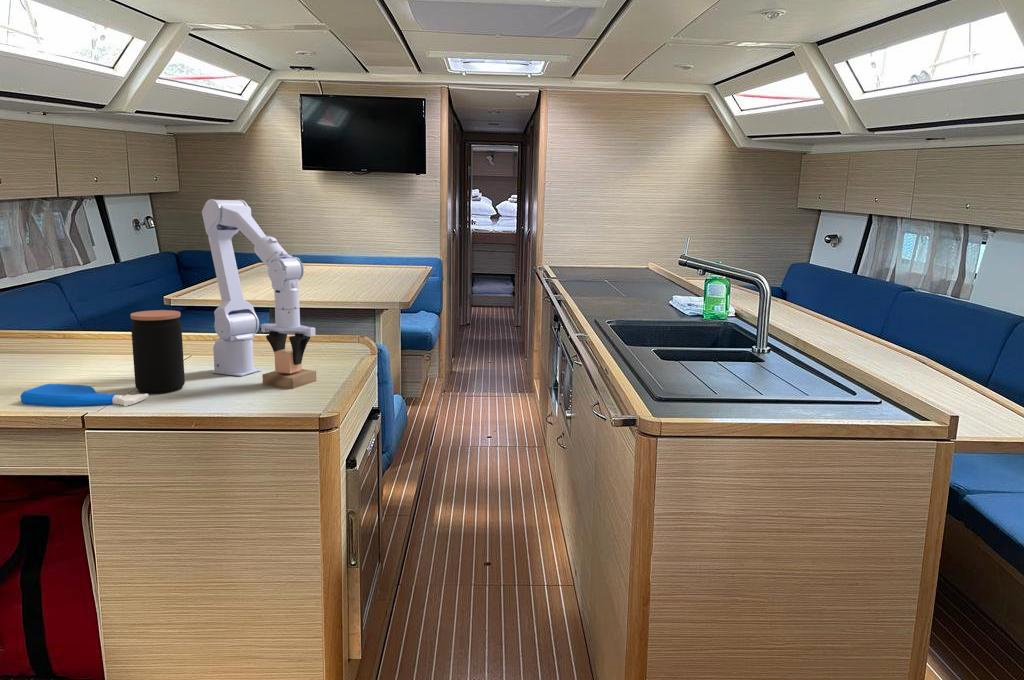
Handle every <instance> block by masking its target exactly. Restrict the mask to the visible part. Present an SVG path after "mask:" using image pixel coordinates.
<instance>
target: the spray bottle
mask: <svg viewBox="0 0 1024 680" xmlns="http://www.w3.org/2000/svg"><path fill="white" fill-rule="evenodd" d="M149 397H150V395H149V394H147V393H146V394H145V393H137V394H128V393H126V394H125V395H122V394H117V393H109V394H108V393H101V392H96V389H94V387H92V386H90V385H83V384H69V383H68V384H67V383H66V384H64V383H47V384H43V385H40V386H37V387H33V388H29V389H28V390H24V391H23V392H22V393H21V395H20V403H22V404H23V405H28V406H29V405H30V406H43V407H87V406H89V407H91V406H93V407H94V406H107V405H108V406H109V405H119V404H120V405H119V406H121V405H122V406H123V407H129V406H131V405H134V404H137V403H140V402H142V401H144V400H146V399H148V398H149ZM128 405H129V406H128Z"/></svg>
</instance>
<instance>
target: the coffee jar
mask: <svg viewBox="0 0 1024 680" xmlns="http://www.w3.org/2000/svg"><path fill="white" fill-rule="evenodd" d="M129 317H130V319H131V320H132V323H131V324H130V329H131V330H130V331H131V344H132V345H131V346H132V358H133V359H132V361H133V374H134V385H135V388H136V390H137V391H138V392H139V393H140V394H146V393H147V394H148V395H149V394H150V395H159V394H168V393H173V392H178V391H180V390H181V389H182V390H183V387H184V385H185V383H186V381H185V380H186V379H185V378H186V377H185V362H184V347H183V345H184V344H183V329H182V322H181V320H180V317H181V311H178V310H173V309H172V310H170V309H169V310H168V309H167V310H166V309H160V310H159V309H157V310H155V309H153V310H144V311H143V310H142V311H135V312H131V313H130V315H129Z"/></svg>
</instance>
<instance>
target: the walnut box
mask: <svg viewBox="0 0 1024 680" xmlns="http://www.w3.org/2000/svg"><path fill="white" fill-rule="evenodd" d="M315 382H317V370H312V369H311V370H310V369H303V368H302V370H300V371H297V372H294V373H291V374H289V373H280V372H275V370H273V371H270V372H266V373H263V374H262V385H263V386H268V387H276V388H282V389H283V388H284V389H293V390H294V389H297V388H299V387H303V386H306V385H309V384H312V383H315Z"/></svg>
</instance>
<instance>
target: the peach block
mask: <svg viewBox="0 0 1024 680" xmlns="http://www.w3.org/2000/svg"><path fill="white" fill-rule="evenodd" d="M273 353H275V354H274V369H275V370H274V371H275V372H280V373H289V374H291V373H294V372H297V371H300V370H302V369H303V368H302V366H303V365H302V363H301V364H298V365H294V362H293V351H292V348H285V349H283V350H279V351H275V352H274V351H273Z"/></svg>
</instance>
